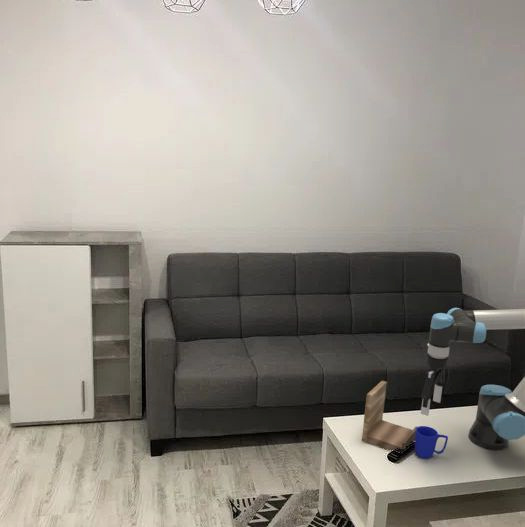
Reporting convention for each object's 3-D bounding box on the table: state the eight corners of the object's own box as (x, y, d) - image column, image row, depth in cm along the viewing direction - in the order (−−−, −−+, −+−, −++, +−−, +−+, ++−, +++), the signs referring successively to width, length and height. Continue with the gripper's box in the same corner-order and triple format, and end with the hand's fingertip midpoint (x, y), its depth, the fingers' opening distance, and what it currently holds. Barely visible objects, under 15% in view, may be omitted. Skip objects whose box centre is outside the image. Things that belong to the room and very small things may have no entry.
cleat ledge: (416, 438, 246) (418, 427, 245) (403, 455, 233) (404, 443, 231) (381, 426, 253) (382, 415, 252) (366, 442, 240) (367, 431, 239)
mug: (445, 464, 228) (449, 439, 226) (412, 458, 231) (416, 434, 228) (444, 452, 236) (447, 429, 234) (412, 447, 238) (415, 424, 236)
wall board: (381, 426, 253) (386, 382, 249) (366, 442, 240) (371, 395, 235) (376, 425, 254) (382, 380, 250) (361, 441, 241) (366, 394, 236)
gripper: (438, 343, 238) (431, 393, 243) (416, 362, 217) (409, 416, 222) (457, 348, 234) (450, 399, 239) (436, 368, 213) (429, 423, 218)
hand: (430, 407), depth 231 cm, fingers open, 13 cm apart
